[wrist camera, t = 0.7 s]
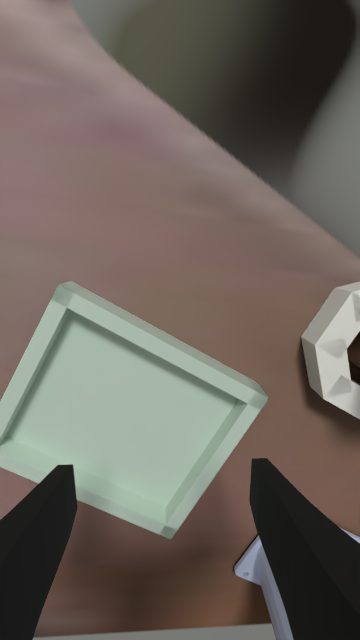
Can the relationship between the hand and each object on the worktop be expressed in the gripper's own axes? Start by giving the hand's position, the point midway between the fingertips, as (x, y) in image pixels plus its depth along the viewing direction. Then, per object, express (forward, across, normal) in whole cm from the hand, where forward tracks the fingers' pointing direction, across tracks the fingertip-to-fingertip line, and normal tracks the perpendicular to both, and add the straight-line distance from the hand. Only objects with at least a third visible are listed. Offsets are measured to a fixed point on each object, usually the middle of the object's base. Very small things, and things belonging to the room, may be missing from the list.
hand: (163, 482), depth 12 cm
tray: (+10, +3, +2) cm, 10 cm away
